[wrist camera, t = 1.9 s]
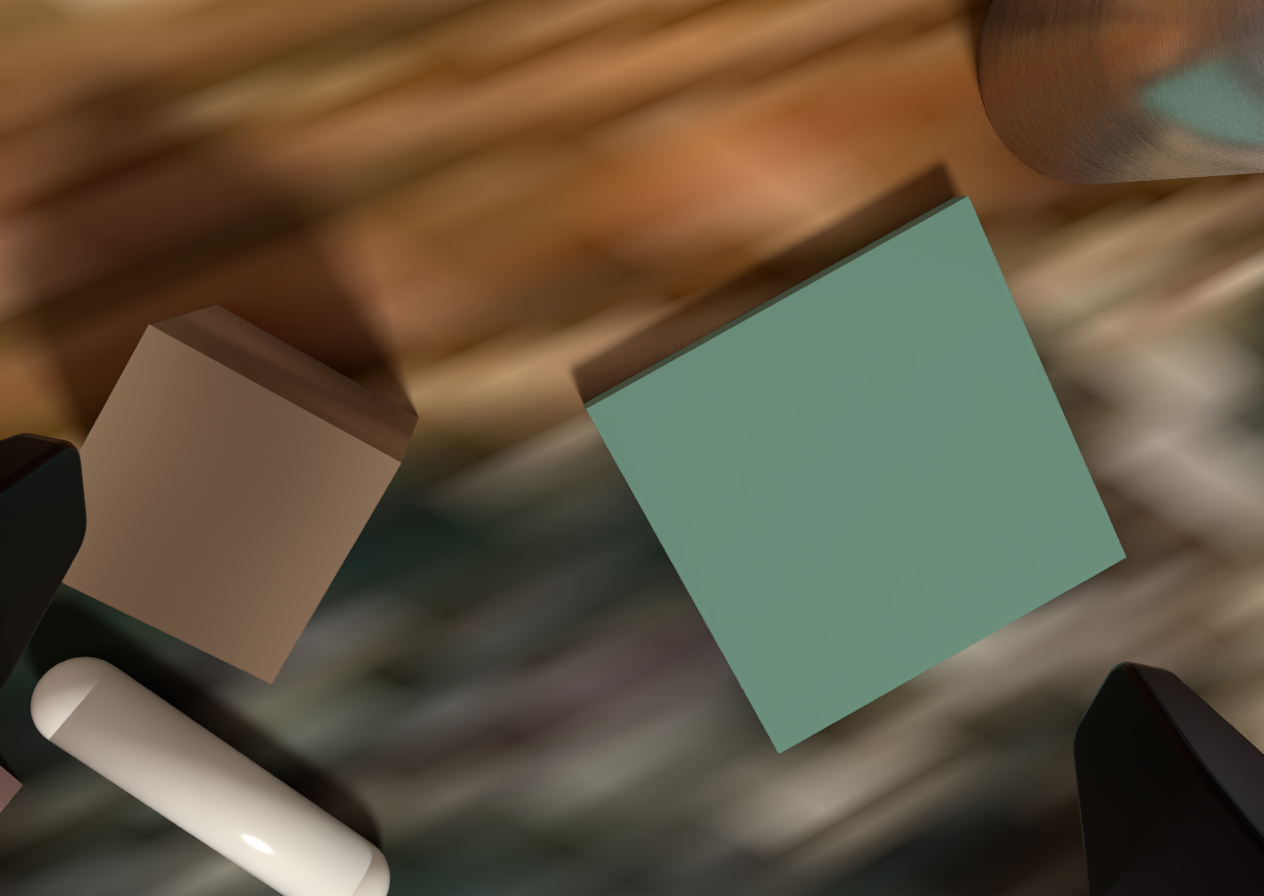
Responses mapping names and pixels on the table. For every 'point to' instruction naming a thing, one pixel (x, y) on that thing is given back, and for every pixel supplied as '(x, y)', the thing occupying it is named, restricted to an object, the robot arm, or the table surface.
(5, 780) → the eraser
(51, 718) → the chalk
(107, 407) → the walnut block
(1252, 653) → the table surface
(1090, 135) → the bottle
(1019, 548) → the mat
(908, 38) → the table surface
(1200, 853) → the robot arm
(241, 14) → the table surface
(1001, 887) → the table surface
